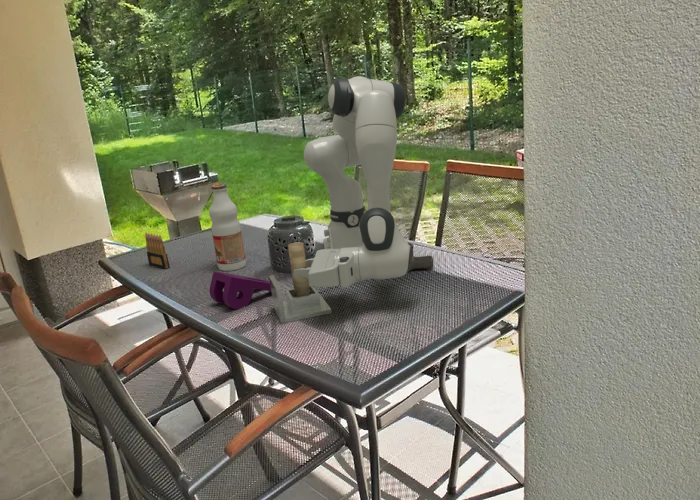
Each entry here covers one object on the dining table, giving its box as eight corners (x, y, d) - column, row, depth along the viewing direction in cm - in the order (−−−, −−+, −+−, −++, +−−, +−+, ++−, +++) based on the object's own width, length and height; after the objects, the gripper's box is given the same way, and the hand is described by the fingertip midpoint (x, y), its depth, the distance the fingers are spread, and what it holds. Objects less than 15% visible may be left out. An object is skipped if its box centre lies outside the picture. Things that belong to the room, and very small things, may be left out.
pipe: (432, 272, 176) (431, 246, 173) (389, 273, 179) (387, 248, 176) (434, 265, 181) (432, 240, 179) (392, 267, 184) (390, 242, 182)
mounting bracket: (258, 307, 179) (206, 300, 167) (265, 279, 179) (213, 271, 167) (277, 314, 172) (224, 307, 160) (283, 285, 173) (231, 277, 160)
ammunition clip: (149, 265, 213) (142, 232, 209) (153, 263, 214) (147, 231, 211) (165, 269, 206) (158, 236, 202) (170, 267, 207) (163, 234, 204)
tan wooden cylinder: (294, 298, 158) (286, 243, 154) (308, 295, 159) (301, 241, 155) (297, 303, 155) (289, 247, 150) (312, 300, 156) (304, 244, 151)
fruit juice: (240, 271, 195) (226, 186, 187) (213, 271, 198) (198, 188, 190) (250, 261, 204) (237, 180, 196) (225, 262, 206) (211, 182, 198)
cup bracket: (273, 307, 162) (268, 275, 159) (320, 297, 165) (317, 266, 162) (281, 323, 151) (276, 290, 148) (331, 312, 154) (327, 280, 151)
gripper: (349, 241, 162) (299, 245, 164) (344, 265, 143) (287, 269, 144) (352, 263, 164) (302, 267, 165) (347, 290, 145) (291, 294, 146)
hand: (295, 268), depth 155 cm, fingers closed on tan wooden cylinder, 4 cm apart
